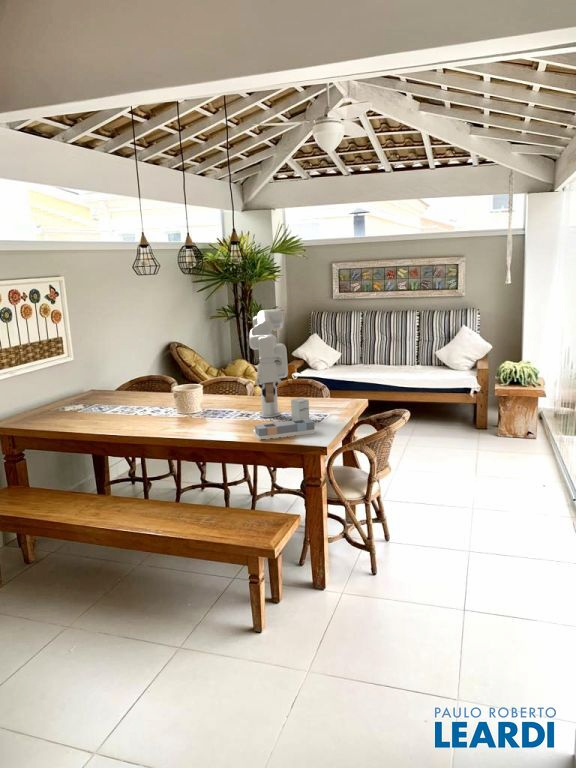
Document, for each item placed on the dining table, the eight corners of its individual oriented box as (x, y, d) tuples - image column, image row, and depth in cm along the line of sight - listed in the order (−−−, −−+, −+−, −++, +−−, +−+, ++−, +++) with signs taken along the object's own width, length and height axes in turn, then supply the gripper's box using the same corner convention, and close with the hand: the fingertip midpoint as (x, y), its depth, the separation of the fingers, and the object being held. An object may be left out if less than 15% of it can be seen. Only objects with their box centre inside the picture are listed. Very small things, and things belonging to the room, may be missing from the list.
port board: (252, 433, 318) (252, 422, 317) (306, 426, 326) (305, 416, 325) (259, 440, 304) (258, 429, 303) (315, 433, 312) (314, 422, 311)
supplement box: (299, 423, 334) (298, 401, 331) (291, 421, 339) (290, 399, 337) (309, 421, 338) (308, 399, 335) (301, 418, 344) (300, 397, 341)
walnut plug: (264, 401, 309) (263, 382, 307) (272, 400, 310) (270, 381, 308) (266, 403, 305) (265, 383, 303) (274, 402, 306) (273, 383, 304)
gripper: (280, 358, 309) (282, 393, 313) (249, 361, 305) (251, 396, 308) (284, 360, 302) (286, 395, 306) (252, 363, 297) (254, 399, 301)
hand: (268, 395), depth 307 cm, fingers closed on walnut plug, 4 cm apart
